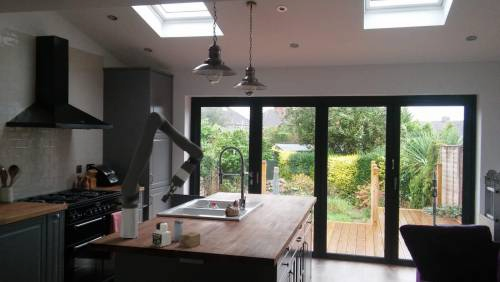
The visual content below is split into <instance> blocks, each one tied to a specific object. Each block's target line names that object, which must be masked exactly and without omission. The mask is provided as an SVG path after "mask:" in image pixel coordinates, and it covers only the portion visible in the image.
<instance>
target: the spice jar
mask: <svg viewBox="0 0 500 282" xmlns="http://www.w3.org/2000/svg"><path fill="white" fill-rule="evenodd" d="M183 233H184V220H183V219H175V220H173V241H174V242H179V235H180V234H183Z"/></svg>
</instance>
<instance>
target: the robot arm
mask: <svg viewBox="0 0 500 282" xmlns="http://www.w3.org/2000/svg"><path fill="white" fill-rule="evenodd" d="M144 122H145V123H144V127H143V130H142V133H141V136H140V138H139V140H138V143H137V146H136V148H135V150H134V154H133V155H132V159H131V162H130V165H129V169H128V171H127V173H126V176H125V178H124V179H123V182H122V184H121V186H120V192H121V195H123V196H122V197H123V198H122V202H121V220H120V221H119V238H121V237H122V238H121V239H123V238H133V239H137V238H138V236H139V235H138V234H139V203H140V184H139V181H140V178H141V176H142V173H143V172H144V171H145V169H146V167H147V165H148V163H149V162H150V159H151V156H152V153H153V150H154V139H155V137H156V133H157V131H158V130H159V131H160V132H162V133H163V134H165V135H166V136H167V137H168V138H169V139H170V140H171V142H173V143H174V144H175V146H177V147H178V148H180V150H182V151H183V152H186V153H187V154H188V155H189V157H188V158H187V160H185V161H184V162H183V163H182V164H181V165H180V167H179V168H178V169H177V170H176V172H175V173H174V174H173V176H172V177H171V178H170V179H169V181H170V183H172V184H170V185H169V186H168V188H167V189H166V191H165V192H164V195H163V196H162V197H161V199H160V201H161V202H162V203H164V204H166V203H167V201H168V200H169V199H170V198H171V197H172V196H173V195H174V194H175V192H176V191H177V189H178V188H179V189H182V187H183V186H184V184H186V182H187V181H188V179H189V178H190V176H191V174H192V173H193V172H194V170H195V168H197V166H198V165H199V164H200V163H201V162H202V160H203V159H204V156H205V155H204V151H203V150H202V149H203V148H201V147H200V146H198V145H197V144H196V143H194V142H192V141H191V140H190V139H189V138H188V137H186V136H185V135H184V134H183V133H182V132H180V131H179V130H177V129H176V128H175V127H174V126H173V125H172V124H171V123H170V122H169V121H168V120H167V118H166V117H165V116H164V115H163V114H162V113H160V112H157V111H152V112H149V114H148V115H147V117H146V119H145V121H144ZM136 237H137V238H136Z"/></svg>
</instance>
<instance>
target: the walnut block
mask: <svg viewBox="0 0 500 282" xmlns="http://www.w3.org/2000/svg"><path fill="white" fill-rule="evenodd" d="M178 242H179V246H180V247H186V248H194V247H196V246H200V245H201V233H198V232H192V231H187V232H183V234H180V235H179V241H178Z"/></svg>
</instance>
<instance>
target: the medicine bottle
mask: <svg viewBox="0 0 500 282" xmlns="http://www.w3.org/2000/svg"><path fill="white" fill-rule="evenodd" d="M155 227H156V228H155V231H152V241H151V242H152V243H151V244H153V245H152V246H155V245H157V246H156V247H159V246H160V248H163V247H166V245H167V246H169V245H170V246H171V243H172V231H168V223H167V222H164V221H159V222H157V223H156V225H155ZM162 246H163V247H162Z"/></svg>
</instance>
